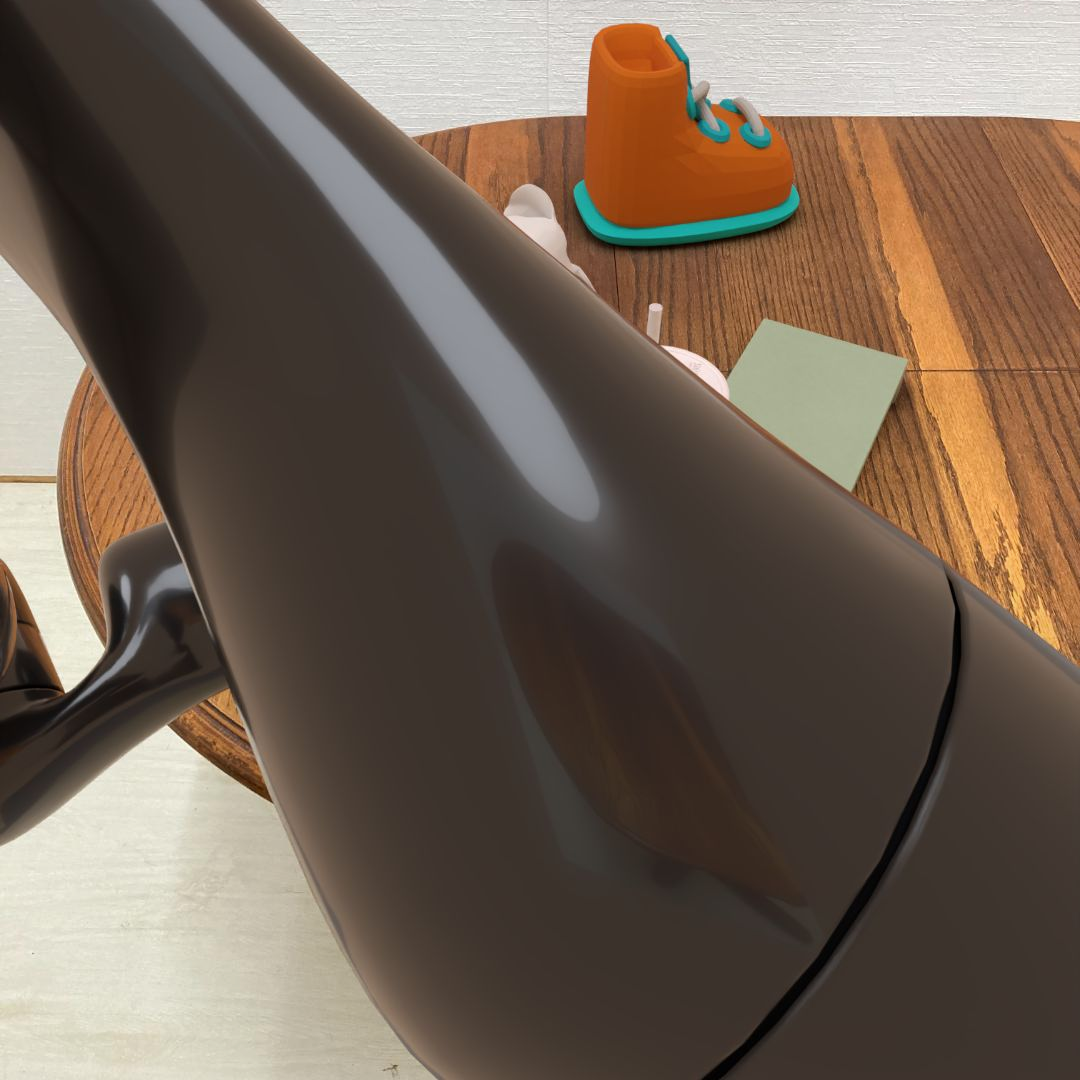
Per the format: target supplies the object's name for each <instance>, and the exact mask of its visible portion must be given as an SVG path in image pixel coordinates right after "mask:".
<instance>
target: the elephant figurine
mask: <svg viewBox="0 0 1080 1080" xmlns="http://www.w3.org/2000/svg"><path fill="white" fill-rule="evenodd" d="M503 215H504V216H506V217H507V218H508V219H509V220H510V221H511V222H513V223H514V224H515V225H516V226H517V227H519V228H520V229H521V230H522V231H523V232H524V233H526V234H527V235H528V236H529V237H530V238H532V239H533V240H534V241H535V242H536V243H538V244H539V245H540V246H541V247H542V248H544V249H545V250H546V251H547V252H548V253H550V254H551V255H552V256H553V257H554V258H556V259H557V260H558V261H559V262H560V263H562V264H563V265H564V266H565V267H567V268H568V269H569V270H570V271H571V272H573V273H574V274H575V275H576V276H577V277H579V278H580V279H581V280H582V281H583V282H584V283H586V284H587V285H588V286H589V287H590V288H591V289H593V290H594V291H595V292H596V293H597V290H596V289H595V287H594V286H593V284H592V282H591V281H590V279H589V278H588V276H587V274H586V273H585V272H584V270H583V269H582V268H581V267H580V266H578V265H577V264H574V263H572V262H571V260H570V258H569V256H568V254H567V249H568V241H567V238H566V234H565V231H564V230H563V229H562V227H561V225H560V224H559V223H558V221H557V216H556V211H555V208H554V204H553V202H552V199H551V198H550V196H549V195H548V193H547V192H545V190H543V189H542V188H540V187H539V186H537V185H535V184H533V183H532V184H531V183H526V184H522V185H521V186H519V187H518V188H516V189H515V190H514V191H513V192H512V193H511V195H510V197H509V202H508V204H507V206H506V208H505V209H504V210H503Z"/></svg>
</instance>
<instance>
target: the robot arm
mask: <svg viewBox="0 0 1080 1080" xmlns="http://www.w3.org/2000/svg"><path fill="white" fill-rule="evenodd" d="M0 256H1V257H2V258H3V260H4V261H5V262H6V263H7V264H8V265H9V266H10V267H11V268H12V269H13V271H14V272H15V273H16V274H17V275H18V276H19V277H20V279H21V280H22V281H23V282H24V283H25V284H26V286H27V287H29V288H30V290H31V291H32V292H33V293H34V295H36V297H37V298H38V299H39V300H40V302H42V304H43V305H44V306H45V308H46V309H47V310H48V312H49V313H50V314H51V315H52V316H53V318H54V319H55V320H56V321H57V322H58V324H59V325H60V326H61V327H62V329H63V330H64V331H65V333H66V334H67V336H68V337H69V338H70V339H71V341H72V342H73V344H74V346H75V347H76V349H77V351H78V353H79V355H80V356H81V357H82V359H83V361H84V362H85V364H86V366H87V368H88V369H89V371H90V373H91V374H92V376H93V378H94V379H95V381H96V383H97V386H98V387H99V389H100V390H101V392H102V394H103V396H104V397H105V399H106V402H107V403H108V405H109V406H110V409H111V410H112V412H113V414H114V416H115V418H116V419H117V421H118V423H119V425H120V427H121V429H122V431H123V433H124V434H125V437H126V439H127V440H128V442H129V444H130V446H131V448H132V450H133V452H134V454H135V456H136V458H137V460H138V461H139V464H140V465H141V468H142V469H143V472H144V474H145V477H146V479H147V481H148V484H149V487H150V488H151V491H152V493H153V495H154V498H155V500H156V502H157V504H158V507H159V509H160V511H161V514H162V516H163V519H162V520H159V521H157V522H154V523H151V524H149V525H146V526H143V527H140V528H139V529H136V530H133V531H131V532H129V533H127V534H125V535H123V536H121V537H119V538H117V539H116V540H113V542H111V543H109V545H108V546H106V548H105V549H104V550H103V551H102V554H101V555H100V558H99V561H98V567H97V576H98V577H97V579H98V588H99V593H100V599H101V604H102V609H103V614H104V620H105V627H106V645H105V648H104V650H103V653H102V655H101V656H100V658H99V659H98V661H97V663H96V664H95V665H94V666H93V667H92V668H91V670H90V671H89V672H88V673H87V674H86V676H85V677H83V678H82V680H80V681H79V682H78V683H77V684H76V685H75V686H74V687H72V688H71V689H70V690H69V691H66V692H65V689H64V686H63V683H62V681H61V678H60V677H59V674H58V671H57V669H56V667H55V664H54V662H53V660H52V657H51V654H50V652H49V650H48V648H47V645H46V642H45V639H44V637H43V635H42V633H41V630H40V628H39V626H38V624H37V621H36V619H35V617H34V616H35V615H34V613H33V611H32V609H31V608H30V605H29V603H28V600H27V599H26V596H25V594H24V592H23V591H22V589H21V586H20V585H19V583H18V581H17V579H16V577H15V576H14V574H13V572H12V571H11V569H10V567H9V566H8V564H7V563H6V562H5V561H4V559H2V558H1V557H0V847H2V846H5V845H7V844H9V843H11V842H13V841H15V840H16V839H19V838H20V837H21V836H23V835H25V834H27V833H28V832H30V831H31V830H33V829H34V828H35V827H37V826H38V825H40V824H41V823H42V822H44V821H45V820H47V819H48V818H50V817H51V816H52V815H53V814H55V813H56V812H58V811H59V810H60V809H62V807H64V806H65V805H66V804H67V803H69V802H70V801H71V800H72V799H74V798H75V797H77V795H78V794H80V793H81V792H82V791H83V790H84V789H85V788H87V787H88V786H89V785H90V784H91V783H92V782H94V781H96V779H97V778H99V777H100V776H102V774H104V772H106V771H107V770H108V769H110V768H111V767H112V766H113V765H114V764H116V763H117V762H119V761H120V760H121V759H123V758H124V757H125V756H126V755H127V754H129V753H130V752H131V751H132V750H134V749H135V748H137V747H138V746H139V745H141V744H142V743H144V742H145V741H146V740H148V739H149V738H150V737H152V736H153V735H155V734H156V733H158V732H159V731H160V730H161V729H163V728H165V727H166V726H167V725H169V724H170V723H172V722H174V721H175V720H177V719H178V718H179V717H182V715H184V714H186V713H188V712H189V711H190V710H192V709H193V708H195V707H197V706H198V705H200V704H202V703H203V702H205V701H207V700H208V699H210V698H213V697H215V696H218V695H219V694H222V693H223V692H225V691H227V690H229V692H230V693H231V696H232V697H231V698H232V700H233V702H234V705H235V708H236V710H237V713H238V715H239V718H240V721H241V724H242V726H243V729H244V731H245V734H246V737H247V739H248V742H249V745H250V747H251V750H252V752H253V756H254V758H255V760H256V763H257V766H258V769H259V770H260V774H261V777H262V778H263V782H264V784H265V786H266V789H267V791H268V795H269V797H270V799H271V801H272V804H273V805H274V808H275V810H276V811H275V812H276V813H277V815H278V818H279V820H280V822H281V824H282V827H283V830H284V831H285V834H286V836H287V839H288V841H289V843H290V846H291V848H292V851H293V852H294V855H295V857H296V859H297V862H298V865H299V867H300V869H301V871H302V874H303V876H304V878H305V880H306V883H307V885H308V887H309V890H310V893H311V895H312V897H313V899H314V901H315V903H316V905H317V907H318V909H319V911H320V913H321V915H322V916H323V919H324V921H325V923H326V925H327V926H328V927H327V928H328V929H329V931H330V932H331V934H332V937H333V939H334V940H335V941H334V942H336V944H337V947H338V949H339V951H340V953H341V954H342V955H343V957H344V959H345V960H346V962H347V964H348V966H349V967H350V970H351V971H352V973H353V974H354V976H355V977H356V979H357V981H358V982H359V984H360V986H361V987H362V989H363V990H364V993H365V994H366V996H367V998H368V999H369V1001H370V1003H371V1004H372V1006H374V1008H375V1009H376V1010H377V1011H378V1013H379V1015H381V1017H382V1018H383V1020H384V1021H385V1023H386V1024H387V1025H388V1026H389V1028H390V1029H391V1031H392V1032H393V1033H394V1034H395V1036H396V1037H397V1038H398V1040H399V1041H400V1042H401V1044H402V1045H403V1046H404V1048H405V1049H406V1050H407V1052H409V1054H410V1055H411V1056H412V1057H413V1058H415V1060H416V1061H417V1062H418V1063H420V1064H421V1065H422V1066H423V1067H424V1069H426V1070H427V1071H428V1072H429V1073H430V1074H431V1075H432V1076H433V1077H434V1078H435V1079H436V1080H1080V666H1079V665H1077V664H1075V662H1073V661H1072V660H1071V659H1069V658H1068V657H1067V656H1066V655H1065V654H1063V653H1061V651H1059V650H1058V649H1056V648H1055V647H1054V646H1053V645H1052V644H1051V643H1049V641H1047V640H1046V639H1044V638H1043V637H1041V636H1040V635H1039V634H1038V633H1037V632H1035V631H1034V630H1033V629H1031V628H1030V627H1029V626H1027V624H1025V623H1024V622H1023V621H1022V620H1021V619H1019V618H1018V617H1016V616H1015V615H1014V614H1012V612H1010V611H1009V610H1007V608H1005V607H1004V606H1003V605H1001V604H1000V603H999V602H997V601H996V600H995V599H994V598H992V597H991V596H990V595H989V594H988V593H986V592H985V591H984V590H982V589H981V588H980V587H979V586H977V585H976V583H973V582H972V581H971V580H970V579H969V578H967V577H966V576H965V575H963V574H962V573H961V572H959V571H958V570H957V569H956V568H955V567H953V565H951V564H950V563H948V562H947V561H946V560H944V558H942V557H940V556H938V555H937V554H935V553H934V552H933V551H932V550H931V549H930V548H929V547H928V546H927V545H926V544H925V543H923V542H922V541H920V539H918V538H916V537H915V536H913V535H912V534H911V533H909V532H908V531H906V530H905V529H903V528H902V527H901V526H899V525H898V524H896V523H895V522H894V521H892V520H891V519H890V518H888V517H886V516H885V515H884V514H882V513H881V512H880V511H878V510H877V509H876V508H875V507H873V506H871V505H869V503H867V502H865V501H864V500H863V499H862V498H860V497H859V496H858V495H856V494H854V493H853V492H852V493H851V492H850V491H849V490H847V489H846V488H844V487H843V486H842V485H840V484H839V483H837V482H836V481H835V480H833V479H832V478H830V477H829V476H828V475H826V474H825V473H823V472H822V471H820V470H819V469H818V468H816V467H815V466H813V465H812V464H811V463H809V462H808V461H806V460H805V459H804V458H802V457H801V456H800V455H798V454H797V453H796V452H794V451H793V450H792V449H790V448H789V447H788V446H786V445H785V444H784V443H782V442H781V441H780V440H778V439H777V438H776V437H775V436H773V435H772V434H771V433H769V432H768V431H767V430H765V429H764V428H763V427H761V426H760V425H759V424H757V423H756V422H755V421H753V420H752V419H751V418H750V417H748V416H747V415H746V414H745V413H743V412H742V411H741V410H740V409H738V408H737V407H736V406H735V405H734V404H732V403H731V402H730V401H729V400H727V399H726V398H725V397H724V396H722V395H721V394H720V393H719V392H717V391H716V390H715V389H714V388H712V387H711V386H710V385H709V384H707V383H706V382H705V381H704V380H702V379H701V378H700V377H699V376H698V375H696V374H695V373H694V372H693V371H691V370H690V369H689V368H688V367H686V366H685V365H684V364H683V363H681V362H680V361H679V360H678V359H677V358H675V357H674V356H673V355H672V354H670V353H669V352H668V351H667V350H665V349H664V348H663V347H662V346H663V345H662V344H659V343H657V342H656V341H654V340H653V339H652V338H651V337H649V336H648V335H647V334H646V333H647V332H645V331H643V330H642V329H641V328H640V327H638V326H637V325H636V324H635V323H634V322H632V320H630V319H629V318H628V317H626V316H625V315H624V314H623V313H621V311H619V310H618V309H617V308H615V307H614V306H613V305H611V304H610V303H609V302H608V301H607V300H606V299H605V298H603V297H602V296H601V295H600V294H599V293H598V292H597V291H596V290H595V291H596V292H595V291H594V290H593V289H591V288H590V287H589V286H588V285H587V284H586V283H585V282H584V281H583V280H582V279H581V278H580V277H578V276H577V275H575V274H574V273H573V272H571V271H570V270H569V269H568V268H567V267H565V266H564V265H563V264H562V263H560V262H559V261H558V260H557V259H556V258H554V257H553V256H552V255H551V254H550V253H548V252H547V251H546V250H545V249H544V248H542V247H541V246H540V245H539V244H538V243H536V242H535V241H534V240H533V239H532V238H530V237H529V236H528V235H527V234H526V233H524V232H523V231H522V230H521V229H520V228H519V227H517V226H516V225H515V224H514V223H513V222H511V221H510V220H509V219H508V218H507V217H506V216H504V213H502V212H501V211H500V210H498V208H496V207H495V206H494V205H493V204H491V203H490V202H489V201H488V200H487V199H486V198H485V197H483V196H482V195H481V194H480V193H479V192H477V191H476V190H475V189H474V188H473V187H471V186H470V185H469V184H468V183H467V182H465V181H464V180H463V179H461V178H460V177H459V176H458V175H457V174H455V173H454V172H453V171H452V170H451V169H449V168H448V167H447V166H446V165H444V164H443V163H442V162H440V160H438V159H437V158H436V157H435V156H433V155H432V154H431V153H430V152H428V151H427V150H426V149H425V148H424V147H423V146H422V145H420V144H419V143H418V142H416V141H415V139H413V138H412V137H410V136H409V135H408V134H406V133H405V132H404V131H403V130H402V129H401V128H399V127H398V126H397V125H396V124H395V123H393V122H392V121H391V120H390V119H389V118H387V117H386V116H385V115H384V114H383V113H381V112H380V110H379V109H377V108H376V107H374V106H373V105H372V104H371V103H370V102H369V101H367V99H365V98H364V97H363V96H362V95H361V94H359V92H357V91H356V90H355V89H354V88H353V87H351V85H350V84H348V83H347V82H346V81H345V80H344V79H343V78H342V77H341V76H339V75H338V74H337V73H336V72H335V71H334V70H333V69H331V68H330V67H329V65H327V64H326V63H325V62H324V61H323V60H322V59H320V58H319V57H318V56H317V54H315V53H314V52H312V51H311V50H310V49H309V48H308V46H306V45H305V44H303V43H302V41H300V40H299V39H298V38H297V37H296V36H295V35H294V34H293V33H292V32H291V31H290V30H289V29H287V27H285V26H284V24H283V23H281V22H280V21H279V20H278V19H277V18H276V17H275V16H274V15H273V14H272V13H270V12H269V11H268V10H267V9H266V8H265V7H264V6H263V5H262V4H261V3H260V2H259V1H258V0H0ZM661 345H662V346H661Z"/></svg>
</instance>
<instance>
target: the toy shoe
mask: <svg viewBox="0 0 1080 1080" xmlns="http://www.w3.org/2000/svg"><path fill="white" fill-rule="evenodd" d="M587 76H588V77H587V93H586V94H587V96H586V121H585V146H584V148H585V149H584V151H585V152H584V176H583V177H584V178H583V179H582V180H580V181H579V182H578V183H577V184H576V185H574V186H575V187H574V189H573V197H574V202H575V204H576V207H577V210H578V212H579V214H580V216H581V218H582V220H583V223H584V225H585V226H586V227H587V229H588V231H589V232H591V234H592V235H593V236H595V237H596V238H597V239H599V240H601V241H602V242H604V243H609V244H612V245H617V246H627V247H657V246H659V247H660V246H671V245H683V244H691V243H699V242H706V241H712V240H713V241H714V240H719V239H725V238H731V237H736V236H742V235H747V234H751V233H757V232H760V231H764V230H767V229H769V228H772V227H774V226H776V225H779V224H781V223H782V222H785V221H786V220H788V219H789V218H790V217H791V216H792V215H793V214H794V213H795V211H796V210H797V208H798V207H799V204H800V195H799V192H798V190H797V188H796V187H795V185H794V184H793V181H794V175H795V165H794V162H793V158H792V154H791V151H790V148H789V146H788V144H787V142H786V141H785V140H784V138H783V137H782V136H781V134H780V133H779V132H778V131H777V130H776V129H775V128H774V126H773V124H771V123H770V122H769V120H767V119H766V118H765V117H764V116H763V115H762V114H760V113H758V111H757V110H756V108H755V107H754V105H753V104H752V103H751V102H750V101H749V100H748V99H746V98H744V97H742V96H737V97H734V98H733V99H731V98H724V99H723V98H722V100H721V101H720V102H719V103H712V102H711V99H709V98H707V97H708V94H709V91H710V89H711V84H710V82H709V81H707V80H702V81H700V82H699V83H698V84H697V85H694V84H693V83H692V81H691V80H692V79H691V65H690V59H689V57H688V55H687V54H686V52H685V50H684V49H683V48H682V47H681V45H680V44H679V43H678V42H677V40H676V39H675V37H674V36H673V35H672V34H666V35H665V38H663V36H662V33H661V30H660V28H659V27H658V26H656V25H652V24H649V23H641V22H640V23H639V22H626V23H619V24H618V23H617V24H612V25H608V26H606V27H603V28H601V29H600V30H599V31H597V33H596V34H595V35H594V37H593V40H592V43H591V48H590V55H589V63H588V75H587Z"/></svg>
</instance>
